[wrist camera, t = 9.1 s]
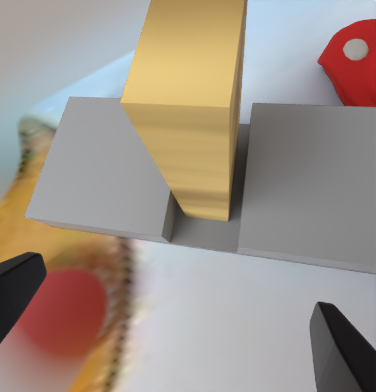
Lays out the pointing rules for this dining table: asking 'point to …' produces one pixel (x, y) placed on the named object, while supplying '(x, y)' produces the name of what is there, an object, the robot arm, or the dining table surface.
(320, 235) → the slotted board
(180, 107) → the ochre block
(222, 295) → the dining table surface
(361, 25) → the tracker holder
